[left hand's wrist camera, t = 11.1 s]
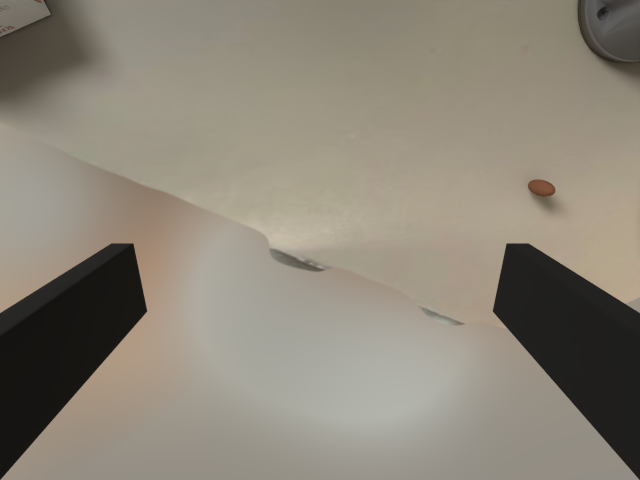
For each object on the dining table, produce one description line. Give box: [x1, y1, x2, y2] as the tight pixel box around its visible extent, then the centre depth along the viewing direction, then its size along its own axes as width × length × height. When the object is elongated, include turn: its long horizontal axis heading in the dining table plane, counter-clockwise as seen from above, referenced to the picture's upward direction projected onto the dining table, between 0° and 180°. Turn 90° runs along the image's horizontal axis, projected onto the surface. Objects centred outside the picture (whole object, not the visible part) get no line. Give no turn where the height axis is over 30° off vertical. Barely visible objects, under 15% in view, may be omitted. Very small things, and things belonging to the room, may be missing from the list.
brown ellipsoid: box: [528, 180, 555, 196], centre depth 46 cm, size 2×2×5 cm
